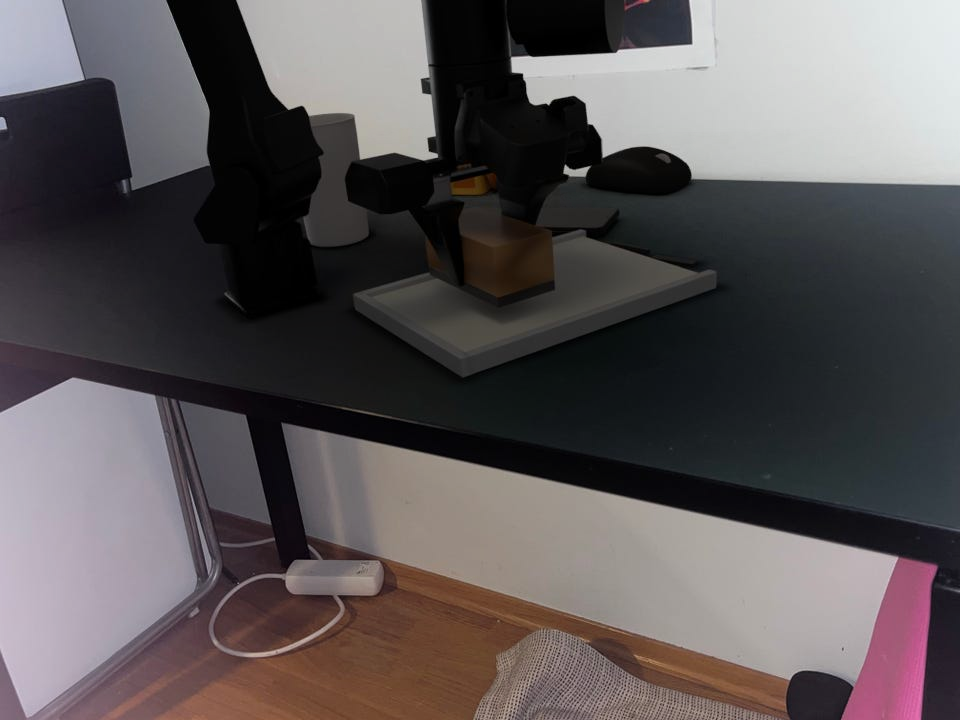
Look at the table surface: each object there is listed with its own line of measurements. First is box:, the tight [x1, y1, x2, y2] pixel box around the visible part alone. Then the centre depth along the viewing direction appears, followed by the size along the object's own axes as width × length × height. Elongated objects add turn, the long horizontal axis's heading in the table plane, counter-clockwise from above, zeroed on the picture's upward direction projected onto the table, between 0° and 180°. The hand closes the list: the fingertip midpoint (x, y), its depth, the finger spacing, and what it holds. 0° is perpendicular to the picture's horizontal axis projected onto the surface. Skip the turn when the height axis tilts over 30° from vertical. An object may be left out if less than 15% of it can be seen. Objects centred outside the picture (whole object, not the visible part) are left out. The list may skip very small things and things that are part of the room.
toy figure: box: [451, 163, 498, 196], centre depth 101 cm, size 5×6×12 cm
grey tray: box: [352, 230, 718, 379], centre depth 69 cm, size 23×17×1 cm
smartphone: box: [483, 206, 620, 237], centre depth 87 cm, size 7×1×15 cm
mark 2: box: [650, 253, 699, 268], centre depth 74 cm, size 1×4×1 cm, turn 49°
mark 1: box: [610, 241, 651, 258], centre depth 76 cm, size 1×4×1 cm
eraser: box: [424, 206, 555, 308], centre depth 65 cm, size 5×10×4 cm, turn 32°
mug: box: [303, 112, 370, 248], centre depth 88 cm, size 10×7×12 cm, turn 59°
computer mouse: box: [585, 145, 693, 194], centre depth 98 cm, size 8×12×4 cm, turn 50°
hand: (488, 276), depth 66 cm, fingers closed on eraser, 5 cm apart
